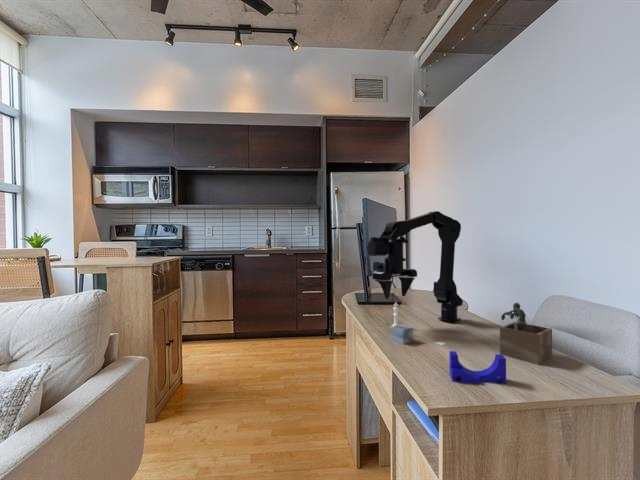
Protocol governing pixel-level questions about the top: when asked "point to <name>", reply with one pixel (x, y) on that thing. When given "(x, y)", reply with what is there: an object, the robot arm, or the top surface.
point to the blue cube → (402, 334)
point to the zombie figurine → (517, 313)
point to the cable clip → (476, 376)
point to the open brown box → (526, 343)
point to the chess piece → (395, 314)
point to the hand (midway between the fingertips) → (395, 297)
